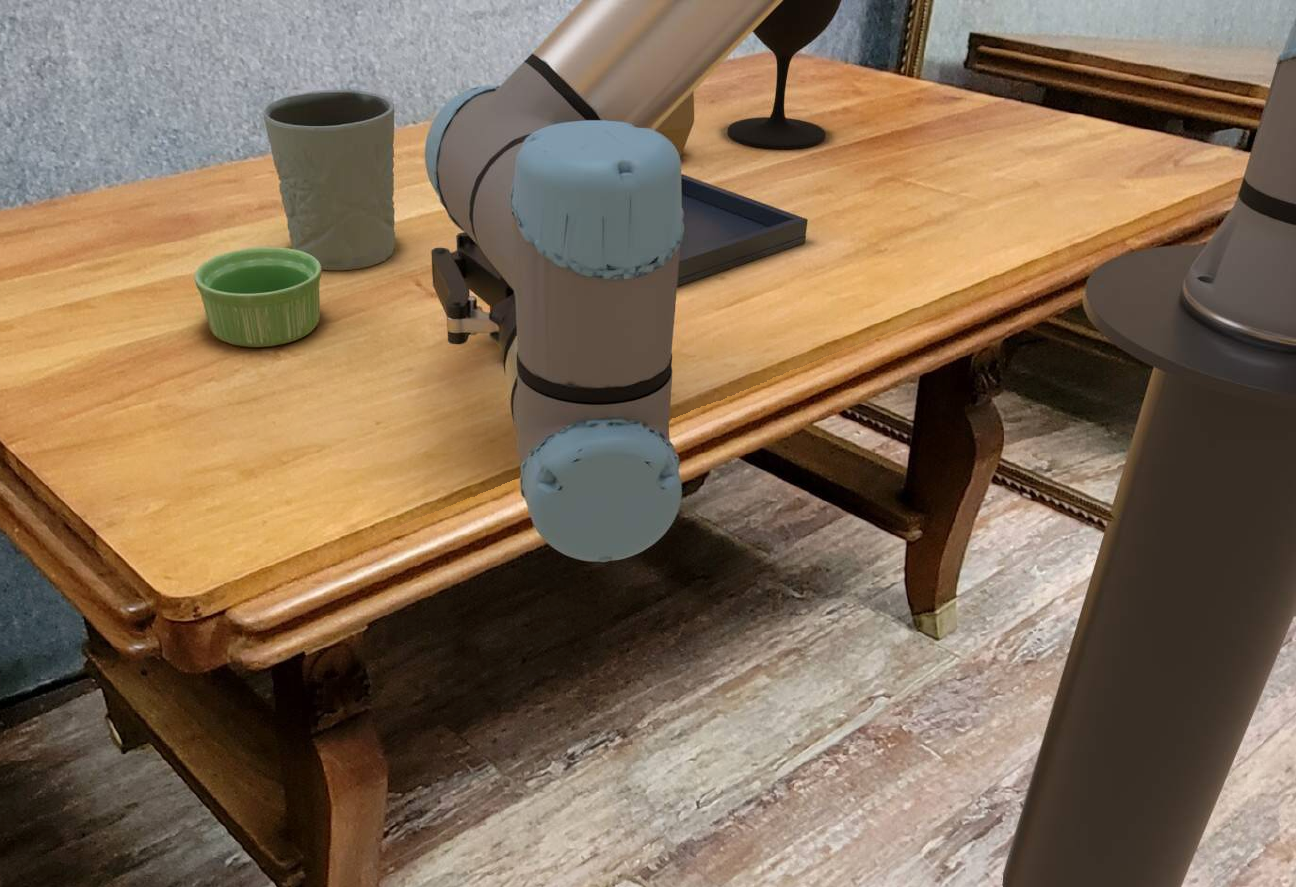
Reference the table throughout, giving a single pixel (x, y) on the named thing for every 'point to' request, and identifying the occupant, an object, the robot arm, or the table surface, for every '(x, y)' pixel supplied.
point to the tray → (730, 230)
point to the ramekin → (260, 295)
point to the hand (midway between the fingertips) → (533, 222)
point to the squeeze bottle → (679, 124)
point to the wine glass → (785, 34)
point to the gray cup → (336, 174)
